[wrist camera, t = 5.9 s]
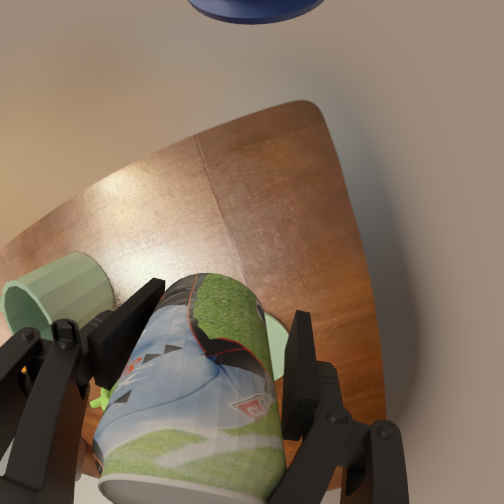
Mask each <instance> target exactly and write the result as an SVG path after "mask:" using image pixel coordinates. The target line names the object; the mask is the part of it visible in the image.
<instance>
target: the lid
mask: <svg viewBox="0 0 504 504" xmlns="http://www.w3.org/2000/svg"><path fill="white" fill-rule="evenodd" d="M264 315H265V320H266V327H267V334H268V340H269V347H270V354H271V361H272V368H273V375H274V381H276V380H277V379H279V378H280V377H281V376H282V375H284V351H285V347H286V343H287V340H288V337H289V333H288V331H287V330H286V328H285V327H284V326H283V325H282V324H281V323H280V322H279V321H278V320H277V319H275V318H274V317H273V316H271V315H269V314H267V313H265V312H264Z"/></svg>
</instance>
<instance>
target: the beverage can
mask: <svg viewBox="0 0 504 504" xmlns="http://www.w3.org/2000/svg"><path fill="white" fill-rule="evenodd" d="M92 450H93V455H94V459H95V462H96V465H97V468H98V471H99V473H100V476H101V477H100V479H99V482H98V488H99V490H100V492H101V493H102V494H103V496H105V497H106V498H107V499H108V500H109V501H111V502H112V503H114V504H267V503H268V501H269V499H270V498H271V496H272V495H273V493H274V492H275V490H276V489H277V487H278V486H279V484H280V482H281V481H282V479H283V478H284V476H285V474H286V472H287V466H286V459H285V452H284V445H283V438H282V430H281V423H280V416H279V409H278V403H277V396H276V389H275V382H274V375H273V368H272V361H271V354H270V347H269V340H268V334H267V327H266V320H265V315H264V310H263V308H262V306H261V303H260V301H259V300H258V299H257V297H256V296H255V294H254V293H253V292H252V291H251V290H250V289H249V288H248V287H246V286H245V285H243V284H242V283H241V282H239V281H237V280H235V279H233V278H231V277H227V276H224V275H221V274H213V273H199V274H194V275H189V276H187V277H184V278H182V279H180V280H178V281H177V282H175V283H173V284H172V285H171V286H170V287H169V288H168V289H167V290H166V291H165V293H164V294H163V295H162V297H161V299H160V301H159V302H158V304H157V306H156V308H155V310H154V312H153V314H152V315H151V317H150V319H149V321H148V323H147V325H146V327H145V329H144V331H143V333H142V334H141V336H140V338H139V340H138V342H137V344H136V346H135V348H134V350H133V352H132V354H131V356H130V358H129V360H128V362H127V364H126V366H125V368H124V370H123V372H122V374H121V377H120V379H119V381H118V383H117V385H116V387H115V389H114V391H113V393H112V396H111V398H110V400H109V402H108V404H107V407H106V409H105V411H104V413H103V415H102V418H101V420H100V422H99V425H98V427H97V429H96V432H95V434H94V438H93V444H92Z"/></svg>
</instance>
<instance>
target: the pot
mask: <svg viewBox="0 0 504 504" xmlns="http://www.w3.org/2000/svg"><path fill="white" fill-rule="evenodd" d="M113 308H114V296H113V291H112V287H111V284H110V282H109V280H108V278H107V276H106V274H105V272H104V271H103V269H102V268H101V267H100V266H99V264H98V263H97V262H96V261H95V260H93V259H92V258H91V257H89V256H88V255H86V254H83V253H79V252H72V253H69V254H66V255H63V256H61V257H59V258H56V259H54V260H52V261H50V262H47V263H45V264H43V265H41V266H39V267H37V268H35V269H32V270H30V271H28V272H26V273H24V274H22V275H20V276H18V277H16V278H14V279H12V280H10V281H8V282H6V284H5V286H4V288H3V290H2V296H0V311H1V312H2V313H4V316H5V319H6V322H7V324H8V327H9V329H10V331H11V333H12V335H14V334H15V333H16V332H17V331H18V330H20V329H21V328H24V327H34V328H36V329H38V330H39V332H40V334H41V338H43V339H47V340H52V341H53V336H52V331H51V327H50V324H51V323H52V322H54V321H55V320H57V319H62V318H66V319H71V320H74V321H75V322H77V324H78V327H79V330H80V329H81V328H82V327H83V326H85V325H86V324H87V323H89V321H90V320H92V319H94V317H95V316H96V315H98V314H99V313H100V312H103V311H105V310H108V309H109V310H111V311H113Z"/></svg>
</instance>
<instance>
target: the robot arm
mask: <svg viewBox="0 0 504 504" xmlns="http://www.w3.org/2000/svg"><path fill="white" fill-rule="evenodd" d="M164 293H165V280H161V279H157V278H152V279H151V280H150V281H149V282H148V283H146V284H145V285H144V286H143V287H142V288H141V289H139V290H138V291H137V292H136V293H135V294H134V295H132V296H131V297H130V298H129V299H128V300H127V301H126V302H124V303H123V304H122V305H121V306H120V307H119V308H118V309H116V310H115V311H111V310H109V309H108V310H105V311H103V312H100V313H99V314H98V315H96V316H95V317H94V319H92V320H90V321H89V323H87V324H86V325H85V326H83V327H82V328H81V329H80V330H79V327H78V324H77V322H75V321H74V320H71V319H66V318H62V319H57V320H55V321H54V322H52V323H51V324H50V327H51V331H52V336H53V341H52V340H47V339H43V338H41V334H40V332H39V330H38V329H36V328H34V327H24V328H21V329H20V330H18V331H17V332H16V333H15V334H14V335H13V336H12V337H11V338H10V339H9V340H8V341H7V342H5V343H4V344H3V345H2V346H1V347H0V461H1V459H2V457H3V456H4V453H5V452H6V450H7V448H8V447H9V445H10V444H11V442H12V440H13V439H14V441H13V445H12V449H11V452H10V456H9V460H8V464H7V468H6V472H5V474H4V475H3V476H0V504H73V503H74V487H75V476H76V467H77V458H78V451H79V444H80V438H81V432H82V426H83V420H84V415H85V410H86V405H87V401H88V396H89V392H90V383H89V381H90V380H91V378H92V377H93V376H94V379H95V384H96V385H97V386H100V387H102V388H104V389H106V390H108V391H110V390H111V389H112V387H113V386H114V385H115V383H116V382H117V381H118V379H119V378H120V377H121V374H122V372H123V370H124V368H125V366H126V364H127V362H128V360H129V358H130V356H131V354H132V352H133V350H134V348H135V346H136V344H137V342H138V340H139V338H140V336H141V334H142V333H143V331H144V329H145V327H146V325H147V323H148V321H149V319H150V317H151V315H152V314H153V312H154V310H155V308H156V306H157V304H158V302H159V301H160V299H161V297H162V295H163V294H164ZM24 366H25V369H26V371H25V372H24V373H22V371H21V370H22V369H23V368H24ZM281 430H282V438H283V439H284V440H292V441H299V439H300V437H301V436H302V444H301V446H300V447H299V449H298V451H297V452H296V454H295V456H294V458H293V460H292V462H291V463H290V465H289V467H288V468H287V472H286V474H285V476H284V478H283V479H282V481H281V482H280V484H279V486H278V487H277V489H276V490H275V492H274V493H273V495H272V496H271V498H270V499H269V501H268V503H267V504H320V502H321V501H322V498H323V496H324V494H325V492H326V490H327V487H328V485H329V483H330V480H331V478H332V476H333V473H334V471H335V468H336V466H337V465H338V466H341V467H343V472H342V486H341V498H340V504H409V494H408V483H407V474H406V465H405V458H404V451H403V444H402V438H401V433H400V430H399V428H398V427H397V426H396V424H394V423H393V422H391V421H388V420H378V421H375V422H374V423H373V424H372V425H371V426H370V425H366V424H363V423H360V422H357V421H355V420H353V419H352V416H351V414H350V413H349V412H348V411H347V410H346V409H345V408H344V407H343V402H342V396H341V391H340V386H339V381H338V376H337V371H336V369H335V368H334V366H333V365H332V364H331V363H329V362H322V361H316V355H315V347H314V339H313V332H312V325H311V317H310V313H309V312H304V311H299V310H296V313H295V316H294V320H293V323H292V327H291V330H290V333H289V337H288V340H287V343H286V347H285V351H284V378H283V400H282V418H281ZM14 437H15V438H14Z"/></svg>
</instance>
